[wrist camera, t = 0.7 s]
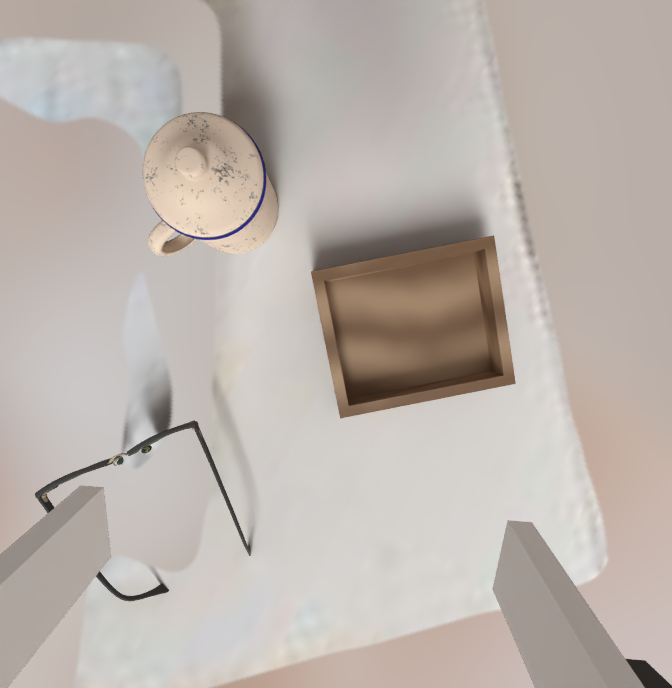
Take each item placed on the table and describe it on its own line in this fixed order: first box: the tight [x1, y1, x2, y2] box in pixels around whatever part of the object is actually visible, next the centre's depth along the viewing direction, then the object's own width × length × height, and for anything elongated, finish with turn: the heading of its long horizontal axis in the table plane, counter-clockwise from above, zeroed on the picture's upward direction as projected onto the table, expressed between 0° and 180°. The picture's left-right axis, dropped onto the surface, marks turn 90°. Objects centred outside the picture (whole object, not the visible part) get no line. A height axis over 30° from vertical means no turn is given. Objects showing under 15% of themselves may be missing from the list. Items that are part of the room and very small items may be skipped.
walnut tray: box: [311, 236, 516, 418], centre depth 35 cm, size 14×17×4 cm
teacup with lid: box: [143, 112, 278, 256], centre depth 29 cm, size 12×9×12 cm
